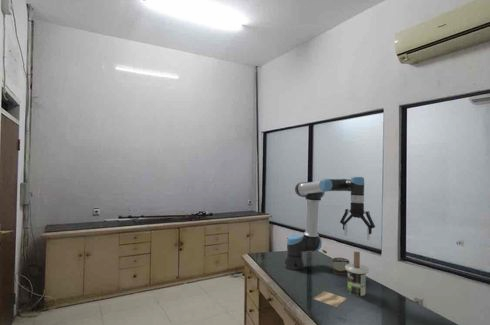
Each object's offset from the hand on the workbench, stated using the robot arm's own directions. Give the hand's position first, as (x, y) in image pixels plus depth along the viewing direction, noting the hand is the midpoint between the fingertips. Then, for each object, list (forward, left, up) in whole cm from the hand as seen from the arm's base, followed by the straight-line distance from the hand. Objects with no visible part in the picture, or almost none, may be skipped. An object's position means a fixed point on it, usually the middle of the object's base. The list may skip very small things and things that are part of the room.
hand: (356, 237), depth 170 cm
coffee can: (0, 0, -34) cm, 34 cm away
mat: (-8, -19, -33) cm, 39 cm away
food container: (-22, +27, -34) cm, 48 cm away
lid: (0, 0, -19) cm, 19 cm away
